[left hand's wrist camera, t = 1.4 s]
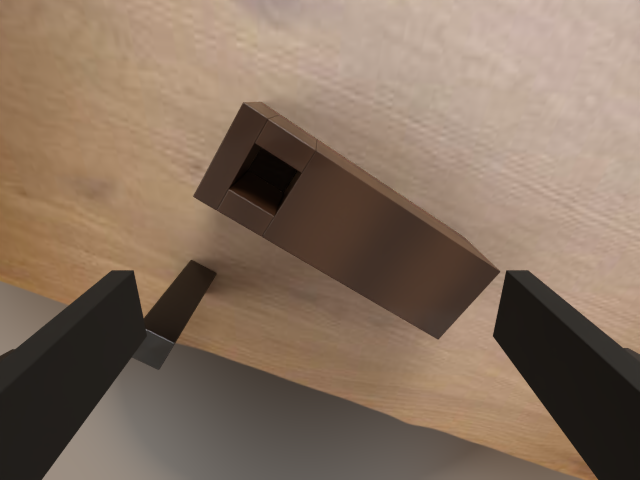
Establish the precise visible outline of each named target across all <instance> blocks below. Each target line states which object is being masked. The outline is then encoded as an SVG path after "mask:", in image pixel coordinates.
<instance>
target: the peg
mask: <svg viewBox="0 0 640 480" xmlns="http://www.w3.org/2000/svg"><path fill="white" fill-rule="evenodd" d="M215 276H216V273H215V272H213V271H211V270H209V269H207V268H206V267H204V266H202V265H200V264H198V263H196V262H195V261H193V260H191V261H190V262H189V263H188V264H187V266H186V267H185V268H184V269H183V270H182V272H181V273H180V274H179V275H178V277H177V278H176V279H175V280H174V282H173V283H172V284H171V285H170V287H169V288H168V289H167V290H166V292H165V293H164V294H163V295H162V296H161V298H160V299H159V300H158V301H157V303H156V304H155V305H154V306H153V308H152V309H151V310H150V311H149V313H148V314H147V315H146V316H145V318H144V323H145V328H146V333H147V337H146V338H145V340H144V341H143V342H142V344H141V345H140V346H139V348H138V349H137V350H136V352H135V353H134V355H133V356H132V358H134V359H136V360H138V361H141V362H143V363H145V364H147V365H149V366H151V367H153V368H155V369H158V370H159V369H160V367H161V366H162V364H163V363H164V361H165V359H166V358H167V356H168V354H169V353H170V351H171V349H172V348H173V346H174V344H175V343H176V341H177V339H178V338H179V336H180V334H181V333H182V331H183V329H184V328H185V326H186V324H187V323H188V321H189V319H190V317H191V316H192V314H193V312H194V311H195V309H196V307H197V306H198V304H199V302H200V301H201V299H202V297H203V296H204V294H205V292H206V291H207V289H208V287H209V286H210V284H211V282H212V281H213V279H214V277H215Z"/></svg>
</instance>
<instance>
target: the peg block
mask: <svg viewBox="0 0 640 480" xmlns="http://www.w3.org/2000/svg"><path fill="white" fill-rule="evenodd" d="M261 147H262V148H263V149H265V150H266V151H268V152H270V153H271V154H273V155H274V156H276V157H277V158H279V159H280V160H282V161H284V162H285V163H287V164H288V165H290V166H291V167H293V168H295V169H296V170H298V171H297V172H296V174H295V176H294V177H293V179H292V180H291V182H290V184H289V185H288V187H287V188H286V190H285V192H283V191H281V190H279V189H278V188H276V187H274V186H273V185H271V184H270V183H268V182H266V181H265V180H263V179H262V178H260V177H258V176H257V175H255V174H253V173H252V172H250V171H248V169H249V168H250V166H251V164H252V162H253V161H254V159H255V157H256V155H257V154H258V152H259V150H260V149H261ZM193 197H195V198H196V199H198V200H200V201H201V202H203V203H205V204H207V205H208V206H210V207H212V208H213V209H215V210H217V211H219V212H220V213H222V214H224V215H226V216H227V217H229V218H231V219H232V220H234V221H236V222H238V223H239V224H241V225H243V226H244V227H246V228H248V229H250V230H251V231H253V232H255V233H256V234H258V235H260V236H262V237H263V238H265V239H267V240H268V241H270V242H272V243H273V244H275V245H277V246H279V247H280V248H282V249H284V250H285V251H287V252H289V253H291V254H292V255H294V256H296V257H297V258H299V259H301V260H303V261H304V262H306V263H308V264H309V265H311V266H313V267H315V268H316V269H318V270H320V271H321V272H323V273H325V274H327V275H328V276H330V277H332V278H333V279H335V280H337V281H339V282H340V283H342V284H344V285H345V286H347V287H349V288H351V289H352V290H354V291H356V292H357V293H359V294H361V295H363V296H364V297H366V298H368V299H369V300H371V301H373V302H375V303H376V304H378V305H380V306H381V307H383V308H385V309H387V310H388V311H390V312H392V313H393V314H395V315H397V316H399V317H400V318H402V319H404V320H406V321H407V322H409V323H411V324H412V325H414V326H416V327H418V328H419V329H421V330H423V331H424V332H426V333H428V334H430V335H431V336H433V337H435V338H436V339H439V338H440V337H441V336H442V335H443V334H444V333H445V332H446V330H447V329H448V328H449V327H450V326H451V325H452V324H453V323H454V322H455V321H456V320H457V318H458V317H459V316H460V315H461V314H462V313H463V312H464V311H465V310H466V309H467V308H468V306H469V305H470V304H471V303H472V302H473V301H474V300H475V299H476V298H477V297H478V296H479V294H480V293H481V292H482V291H483V290H484V289H485V288H486V287H487V286H488V285H489V284H490V282H491V281H492V280H493V279H494V278H495V277H496V276H497V275H498V274H499V273H500V271H499V270H498V269H497V268H496V267H495V266H494V265H493V264H492V263H491V262H490V261H489V260H488V259H487V258H486V257H485V256H483V255H482V254H481V253H480V252H479V251H478V250H477V249H476V248H475V247H474V246H473V245H472V244H471V243H470V242H469V241H468V240H467V239H466V238H464V237H463V236H462V235H460V234H459V233H457V232H456V231H454V230H453V229H451V228H450V227H448V226H447V225H445V224H444V223H442V222H441V221H439V220H438V219H436V218H435V217H433V216H432V215H430V214H429V213H427V212H426V211H424V210H423V209H421V208H420V207H418V206H417V205H415V204H414V203H412V202H411V201H409V200H408V199H406V198H405V197H403V196H402V195H400V194H399V193H397V192H396V191H394V190H393V189H391V188H390V187H388V186H387V185H385V184H384V183H382V182H381V181H379V180H378V179H376V178H375V177H373V176H372V175H370V174H369V173H367V172H366V171H364V170H363V169H361V168H360V167H358V166H357V165H355V164H354V163H352V162H351V161H349V160H348V159H346V158H345V157H343V156H342V155H340V154H339V153H337V152H336V151H334V150H333V149H331V148H330V147H328V146H327V145H325V144H324V143H322V142H321V141H319V140H317V139H316V138H315V137H313V136H312V135H310V134H309V133H307V132H306V131H304V130H303V129H301V128H300V127H298V126H297V125H295V124H294V123H292V122H291V121H289V120H288V119H286V118H285V117H283V116H282V115H280V114H279V113H277V112H276V111H274V110H273V109H271V108H270V107H268V106H267V105H265V104H264V103H262V102H243V104H242V106H241V108H240V109H239V111H238V113H237V115H236V117H235V119H234V121H233V123H232V124H231V126H230V128H229V130H228V132H227V134H226V136H225V138H224V139H223V141H222V143H221V145H220V147H219V149H218V151H217V153H216V155H215V156H214V158H213V160H212V162H211V164H210V166H209V168H208V170H207V171H206V173H205V175H204V177H203V179H202V181H201V183H200V185H199V186H198V188H197V190H196V192H195V194H194V196H193Z"/></svg>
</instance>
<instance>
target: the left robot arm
mask: <svg viewBox="0 0 640 480" xmlns="http://www.w3.org/2000/svg"><path fill="white" fill-rule="evenodd" d="M146 337H147V333H146V328H145V323H144V319H143V314H142V309H141V304H140V299H139V294H138V289H137V285H136V280H135V275H134V270H112V271H111V272H109V273H108V274H107V275H106V276H104V277H103V278H102V279H101V280H100V281H98V282H97V283H96V284H95V285H93V286H92V287H91V288H90V289H89V290H87V291H86V292H85V293H84V294H82V295H81V296H80V297H79V298H78V299H76V300H75V301H74V302H73V303H71V304H70V305H69V306H68V307H67V308H65V309H64V310H63V311H62V312H60V313H59V314H58V315H57V316H56V317H54V318H53V319H52V320H51V321H49V322H48V323H47V324H46V325H45V326H43V327H42V328H41V329H40V330H38V331H37V332H36V333H35V334H34V335H32V336H31V337H30V338H29V339H27V340H26V341H25V342H24V343H22V344H21V345H20V346H19V347H18V348H16V349H12V350H10V351H8V352H7V353H5V354H3V355H1V356H0V480H42V479H43V477H44V476H45V474H46V473H47V472H48V470H49V469H50V468H51V466H52V465H53V464H54V462H55V461H56V459H57V458H58V457H59V455H60V454H61V453H62V451H63V450H64V449H65V447H66V446H67V444H68V443H69V442H70V440H71V439H72V438H73V436H74V435H75V434H76V432H77V431H78V430H79V428H80V427H81V425H82V424H83V423H84V421H85V420H86V419H87V417H88V416H89V414H90V413H91V412H92V410H93V409H94V408H95V406H96V405H97V404H98V402H99V401H100V399H101V398H102V397H103V395H104V394H105V393H106V391H107V390H108V389H109V387H110V386H111V385H112V383H113V382H114V380H115V379H116V378H117V376H118V375H119V374H120V372H121V371H122V369H123V368H124V367H125V365H126V364H127V363H128V361H129V360H130V359H131V357H132V356H133V355H134V353H135V352H136V350H137V349H138V348H139V346H140V345H141V344H142V342H143V341H144V340H145V338H146ZM493 337H494V338H495V340H496V341H497V342H498V344H499V345H500V346H501V348H502V349H503V350H504V352H505V353H506V355H507V356H508V357H509V359H510V360H511V361H512V363H513V364H514V365H515V367H516V368H517V370H518V371H519V372H520V374H521V375H522V376H523V378H524V379H525V380H526V382H527V383H528V385H529V386H530V387H531V389H532V390H533V391H534V393H535V394H536V395H537V397H538V398H539V400H540V401H541V402H542V404H543V405H544V406H545V408H546V409H547V410H548V412H549V413H550V415H551V416H552V417H553V419H554V420H555V421H556V423H557V424H558V425H559V427H560V428H561V430H562V431H563V432H564V434H565V435H566V436H567V438H568V439H569V440H570V442H571V443H572V445H573V446H574V447H575V449H576V450H577V451H578V453H579V454H580V455H581V457H582V458H583V460H584V461H585V462H586V464H587V465H588V466H589V468H590V469H591V470H592V472H593V473H594V474H595V476H596V477H597V479H598V480H640V354H638V353H636V352H634V351H633V350H631V349H629V348H622V347H621V346H620V345H619V344H618V343H616V342H615V341H614V340H613V339H611V338H610V337H609V336H608V335H606V334H605V333H604V332H603V331H602V330H600V329H599V328H598V327H597V326H595V325H594V324H593V323H592V322H591V321H589V320H588V319H587V318H586V317H584V316H583V315H582V314H581V313H580V312H578V311H577V310H576V309H575V308H573V307H572V306H571V305H570V304H569V303H567V302H566V301H565V300H564V299H562V298H561V297H560V296H559V295H558V294H556V293H555V292H554V291H553V290H551V289H550V288H549V287H548V286H547V285H545V284H544V283H543V282H542V281H540V280H539V279H538V278H537V277H536V276H534V275H533V274H532V273H531V272H529V271H528V270H506V275H505V280H504V285H503V289H502V294H501V299H500V304H499V309H498V314H497V319H496V323H495V328H494V333H493Z"/></svg>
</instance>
